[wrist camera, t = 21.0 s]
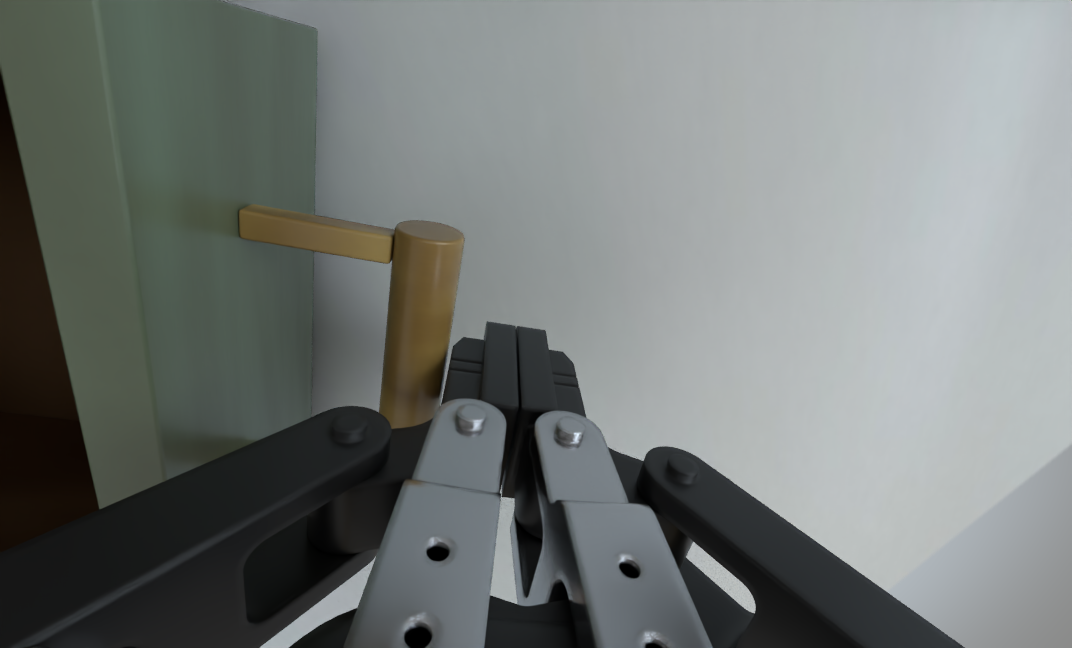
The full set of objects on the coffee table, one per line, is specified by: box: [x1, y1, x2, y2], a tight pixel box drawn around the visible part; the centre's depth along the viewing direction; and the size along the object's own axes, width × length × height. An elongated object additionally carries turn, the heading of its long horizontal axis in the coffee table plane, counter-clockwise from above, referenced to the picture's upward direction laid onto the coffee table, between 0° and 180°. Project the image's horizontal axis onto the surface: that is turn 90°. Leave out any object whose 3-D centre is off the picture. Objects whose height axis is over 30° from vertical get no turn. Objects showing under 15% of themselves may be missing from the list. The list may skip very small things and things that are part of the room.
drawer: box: [0, 0, 465, 552], centre depth 11 cm, size 19×13×7 cm
